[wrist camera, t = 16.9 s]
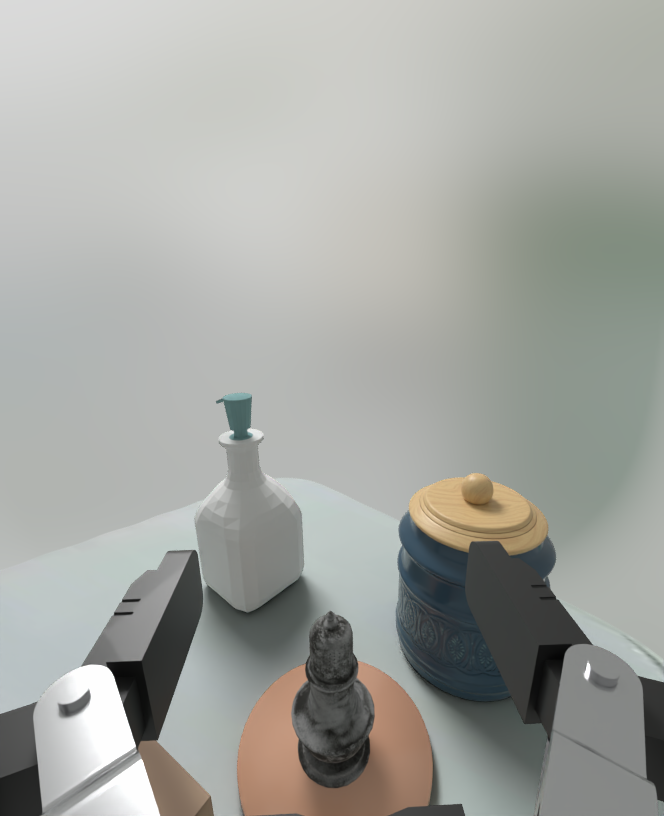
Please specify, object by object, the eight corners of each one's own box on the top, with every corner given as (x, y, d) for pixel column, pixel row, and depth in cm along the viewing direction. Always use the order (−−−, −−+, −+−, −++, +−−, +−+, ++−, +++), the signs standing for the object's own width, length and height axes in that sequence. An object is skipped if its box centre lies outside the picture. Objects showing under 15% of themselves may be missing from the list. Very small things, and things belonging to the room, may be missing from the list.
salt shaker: (388, 772, 27) (392, 633, 24) (306, 809, 26) (298, 664, 22) (355, 694, 33) (354, 571, 29) (285, 720, 31) (275, 592, 27)
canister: (536, 613, 42) (561, 458, 36) (538, 735, 30) (574, 536, 25) (413, 578, 47) (420, 438, 42) (377, 669, 36) (379, 495, 31)
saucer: (373, 965, 20) (374, 955, 20) (195, 785, 28) (194, 775, 27) (458, 723, 31) (459, 714, 31) (314, 641, 39) (314, 633, 39)
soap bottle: (261, 545, 54) (247, 379, 47) (312, 577, 47) (304, 392, 41) (196, 583, 47) (169, 397, 40) (245, 627, 41) (223, 415, 34)
